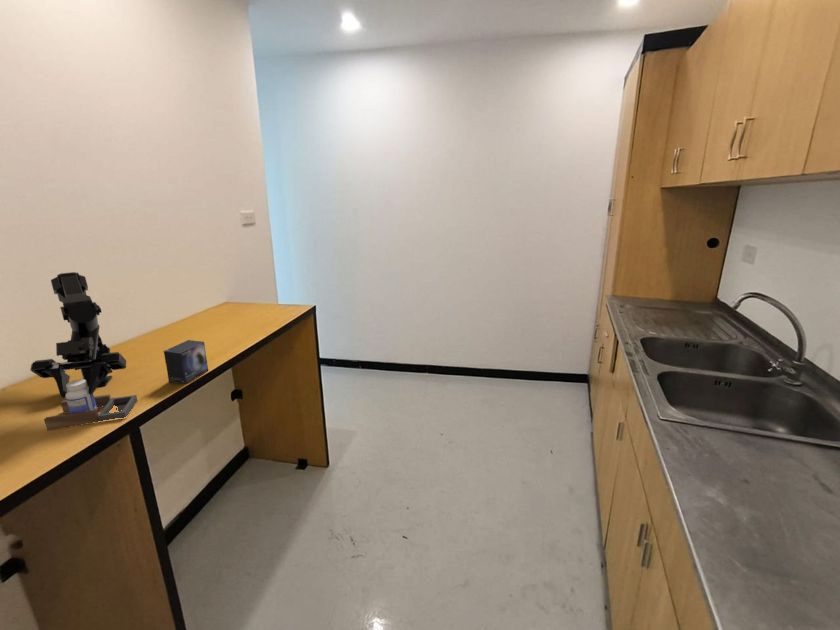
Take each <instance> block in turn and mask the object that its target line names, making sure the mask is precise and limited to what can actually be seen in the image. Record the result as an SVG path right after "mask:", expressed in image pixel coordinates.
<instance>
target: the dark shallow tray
mask: <svg viewBox="0 0 840 630" xmlns="http://www.w3.org/2000/svg"><path fill="white" fill-rule="evenodd" d="M136 401H137V402H138V397H137V394H134V395H126V396H119V397H112V398H111V400H110V401H109V402H108V404H107V405H106V406H105V407H103V409H102V410H101V411H100V413H98V414H99V415H98V419H99V421H103V420H109V419H115V418H124V417H126V416H127V415H128V414H129V415H130V413H131V412H130V411H132V410H133V409H134V407H135V405H136V404H137V402H136ZM135 403H136V404H135ZM134 404H135V405H134ZM114 405H115V406H117V407H118V411H119V412H114V413H109V411H110V410H111V409H112V408H113V406H114ZM133 406H134V407H133ZM131 409H132V410H131ZM116 410H117V408H116ZM121 410H122V411H121ZM129 412H130V413H129ZM129 415H128V416H129ZM128 416H127V417H128Z"/></svg>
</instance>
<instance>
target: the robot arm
mask: <svg viewBox="0 0 840 630" xmlns="http://www.w3.org/2000/svg"><path fill="white" fill-rule="evenodd" d="M50 281H51V282H50V283H51V286H52V289H53V294H54V295H57V298H58V301H59V302H61V303H62V305H63V306H60V311H61V314H62V315H61V316H62V318H63V321H67V323H69V325H70V328H71V329H72V330H71V334H70V340H67V341H61V342H56V343H55V348H56V356H57V357H59V356H61V359H62V360H63V361H66V362H57V361H55V360H54V359H53V358H48V359H39V360H35V361H33V362H32V363H31V365H30V369H29V371H31V372H32V373H33V374H35V375H37V376H38V377H39V378H42V379H48V378H54V381H55V383H56V385H57V389H58V392H59V395H60V397H61V398H62V399H66V397H65V394H66V392H68V390H67V387H66V384H67V383H69V382H70V378H71V376H70V375H69V374H67V371H68V370H75V371H77V370H80V373H81V375H82V379H84V380H86V382H87V386H88V387H89V394H90V395H91V394H93V395H94V392H95V391H96V389H97V388H98V387H103V386H107V384H108V383H109V382H110V381H111V379H112V378H113V375H109V374H112V373H113V371H116V370H125V369H126V368H127V359H126V358H125V357H124V356H123V355H122V354H121V353H120V352H119V351H115V352H111V349H110V347H108V346H107V344H106V343H103V340H102V338H101V336H100V327H101V326H100V324H99V321H98V316H100V313H102V309H101V307H100V305H98V304H97V302H96V301H94V302H93V300H92V298H91V296H90V295H87V291H89V287H88V282H87V278H86V276H84V275H81V274H79V272H76V271H74V272H73V271H72V272H61V273H59V274H57V275H56V277H54V278H52V279H50Z"/></svg>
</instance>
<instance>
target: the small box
mask: <svg viewBox="0 0 840 630" xmlns="http://www.w3.org/2000/svg"><path fill="white" fill-rule="evenodd" d="M163 355H164V360H165V361H164V362H165V366H166V372H167V379H168V380H167V381H168V383H173V382H177V383H176V384H181V383H186V384H187V382H188V381H189V382H191V381H193V380H194V378H195V377H196V378H198V377H200V376H201V375H200V374H202V373H203V374H205V373H206V372H205V371H207V370H208V371H209V365H208V358H207V351H206V345H205V341H201V340H200V341H199V340H194V339H193V340H192V339H191V340H190V339H188V340H185V341H183V342H181V343H178V344H175V346H172V347H169V348H168V349H165V350H163ZM208 371H207V372H208ZM204 372H205V373H204ZM203 374H202V375H203ZM199 375H200V376H199ZM197 376H198V377H197ZM196 378H195V379H196ZM192 379H193V380H192ZM190 380H191V381H190ZM189 382H188V383H189Z"/></svg>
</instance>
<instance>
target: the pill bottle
mask: <svg viewBox="0 0 840 630" xmlns="http://www.w3.org/2000/svg"><path fill="white" fill-rule="evenodd" d="M66 387H67V392H66V394H65V400H66V401H67V404H68V408H69V411H70V412H69V414H72V413H79V412H86V411H93V410H98V408H97V407H96V403H95V399H94V397H95V396H94V393H93V394H91V395H90V394H89V387H88V386H87V382H86V380H84V379H83V378H82V379H75V380H71V381H69V383H67V384H66Z"/></svg>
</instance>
